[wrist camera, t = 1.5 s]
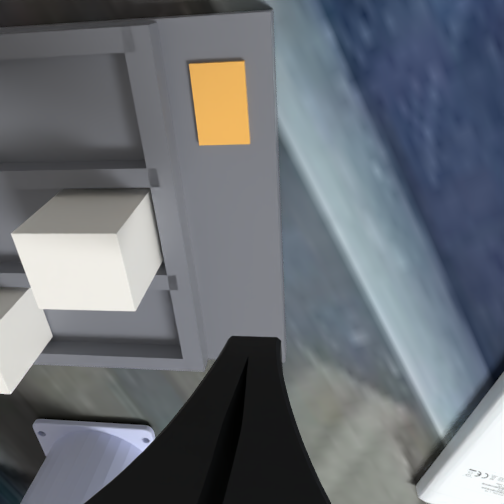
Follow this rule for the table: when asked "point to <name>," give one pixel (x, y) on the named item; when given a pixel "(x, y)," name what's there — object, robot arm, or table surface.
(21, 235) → the white block
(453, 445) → the external hard drive
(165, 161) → the switch bank
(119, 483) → the robot arm
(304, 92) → the table surface
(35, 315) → the white block
